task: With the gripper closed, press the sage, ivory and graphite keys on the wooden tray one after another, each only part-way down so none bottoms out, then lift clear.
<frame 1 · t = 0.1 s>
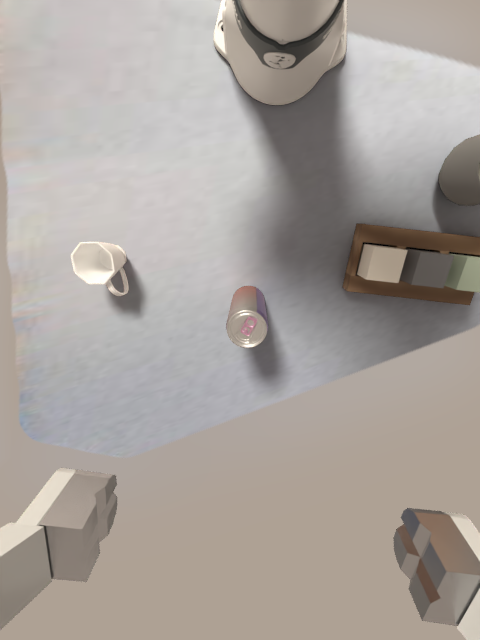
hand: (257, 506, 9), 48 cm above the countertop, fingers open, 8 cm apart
cup: (119, 264, 55), on the countertop
sage key: (468, 273, 48), point 5 cm above the countertop, slide at 0.0 cm
wooden tray: (409, 263, 53), on the countertop
beverage can: (248, 300, 56), on the countertop
cup 2: (457, 174, 48), on the countertop
graphite key: (424, 268, 48), point 5 cm above the countertop, slide at 0.0 cm
ivory key: (380, 263, 48), point 5 cm above the countertop, slide at 0.0 cm
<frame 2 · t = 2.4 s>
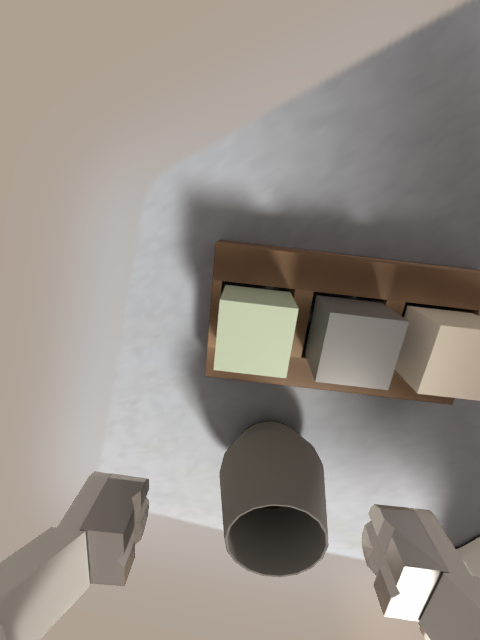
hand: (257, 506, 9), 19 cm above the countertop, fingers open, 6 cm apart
sage key: (254, 328, 22), point 5 cm above the countertop, slide at 0.0 cm
wooden tray: (333, 317, 27), on the countertop
cup 2: (269, 443, 32), on the countertop
graphite key: (350, 339, 22), point 5 cm above the countertop, slide at 0.0 cm
ivory key: (446, 351, 22), point 5 cm above the countertop, slide at 0.0 cm
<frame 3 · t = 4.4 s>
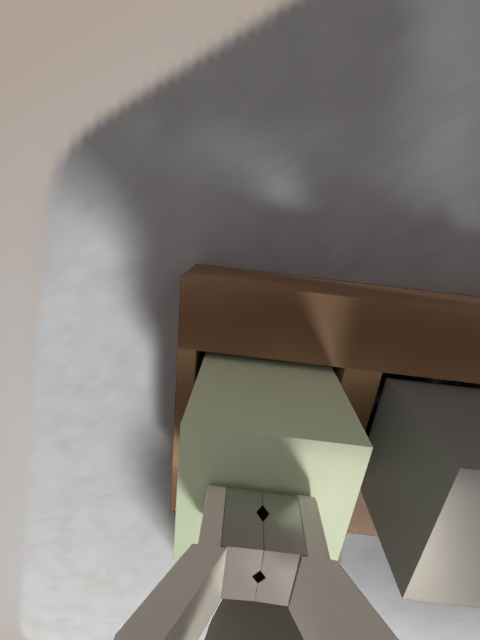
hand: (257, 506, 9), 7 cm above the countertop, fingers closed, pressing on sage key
sage key: (261, 450, 11), point 5 cm above the countertop, slide at 0.4 cm, touching gripper
wooden tray: (400, 399, 15), on the countertop
cup 2: (282, 577, 20), on the countertop
graphite key: (466, 483, 10), point 5 cm above the countertop, slide at 0.0 cm
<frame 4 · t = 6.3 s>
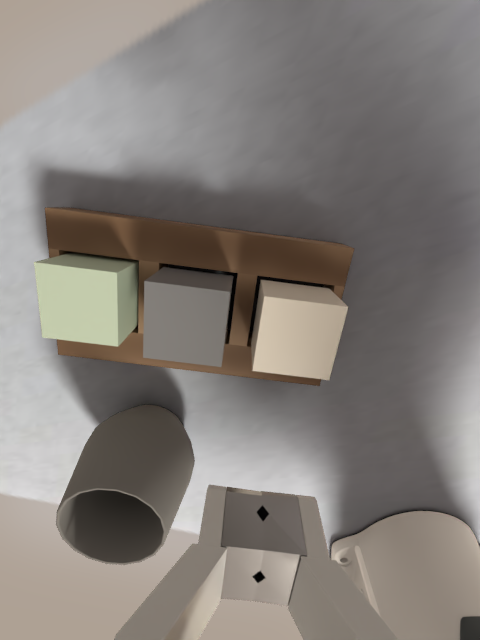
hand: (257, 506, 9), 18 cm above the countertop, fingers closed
sage key: (94, 296, 21), point 4 cm above the countertop, slide at 1.1 cm
wooden tray: (201, 294, 25), on the countertop
cup 2: (153, 427, 30), on the countertop
graphite key: (190, 314, 21), point 5 cm above the countertop, slide at 0.0 cm
ivory key: (293, 327, 21), point 5 cm above the countertop, slide at 0.0 cm
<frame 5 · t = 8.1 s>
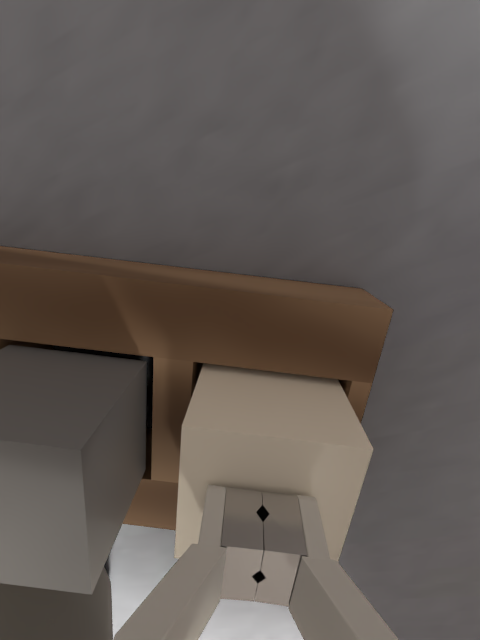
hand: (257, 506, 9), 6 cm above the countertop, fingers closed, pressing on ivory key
wooden tray: (113, 375, 14), on the countertop
cup 2: (65, 566, 19), on the countertop
graphite key: (45, 453, 10), point 5 cm above the countertop, slide at 0.0 cm
ivory key: (262, 452, 11), point 4 cm above the countertop, slide at 1.2 cm, touching gripper
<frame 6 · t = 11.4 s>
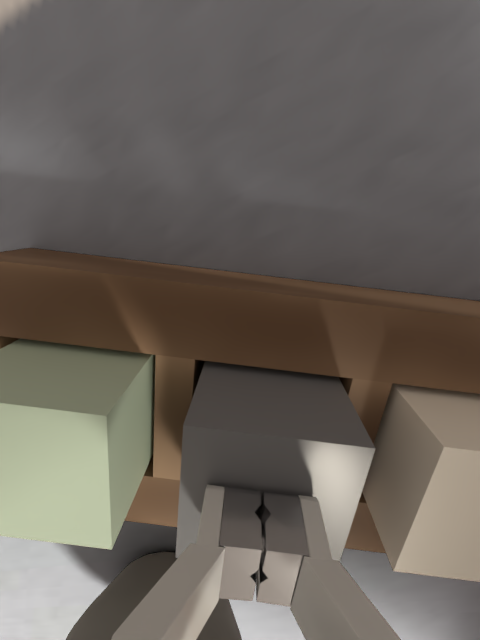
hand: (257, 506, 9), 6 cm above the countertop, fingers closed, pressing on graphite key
sage key: (67, 427, 11), point 4 cm above the countertop, slide at 1.1 cm
wooden tray: (261, 391, 14), on the countertop
cup 2: (174, 577, 19), on the countertop
graphite key: (263, 451, 11), point 4 cm above the countertop, slide at 1.1 cm, touching gripper
ivory key: (454, 467, 11), point 4 cm above the countertop, slide at 1.5 cm
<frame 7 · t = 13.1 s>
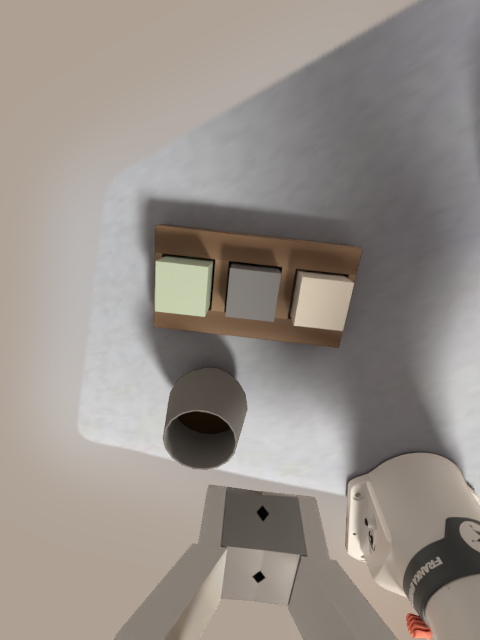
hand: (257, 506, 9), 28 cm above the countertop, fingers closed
sage key: (185, 284, 32), point 4 cm above the countertop, slide at 1.1 cm
wooden tray: (252, 283, 35), on the countertop
cup 2: (212, 386, 40), on the countertop
graphite key: (252, 290, 32), point 3 cm above the countertop, slide at 1.9 cm
ivory key: (318, 298, 32), point 4 cm above the countertop, slide at 1.5 cm
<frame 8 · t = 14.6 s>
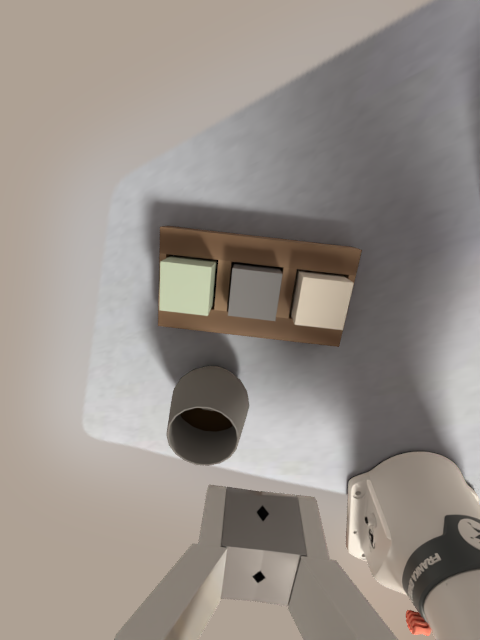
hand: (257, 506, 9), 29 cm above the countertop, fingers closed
sage key: (189, 284, 32), point 4 cm above the countertop, slide at 1.1 cm
wooden tray: (254, 284, 36), on the countertop
cup 2: (214, 385, 41), on the countertop
graphite key: (254, 290, 33), point 3 cm above the countertop, slide at 1.9 cm
ivory key: (318, 298, 33), point 4 cm above the countertop, slide at 1.5 cm
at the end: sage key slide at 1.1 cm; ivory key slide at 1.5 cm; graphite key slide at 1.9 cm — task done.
